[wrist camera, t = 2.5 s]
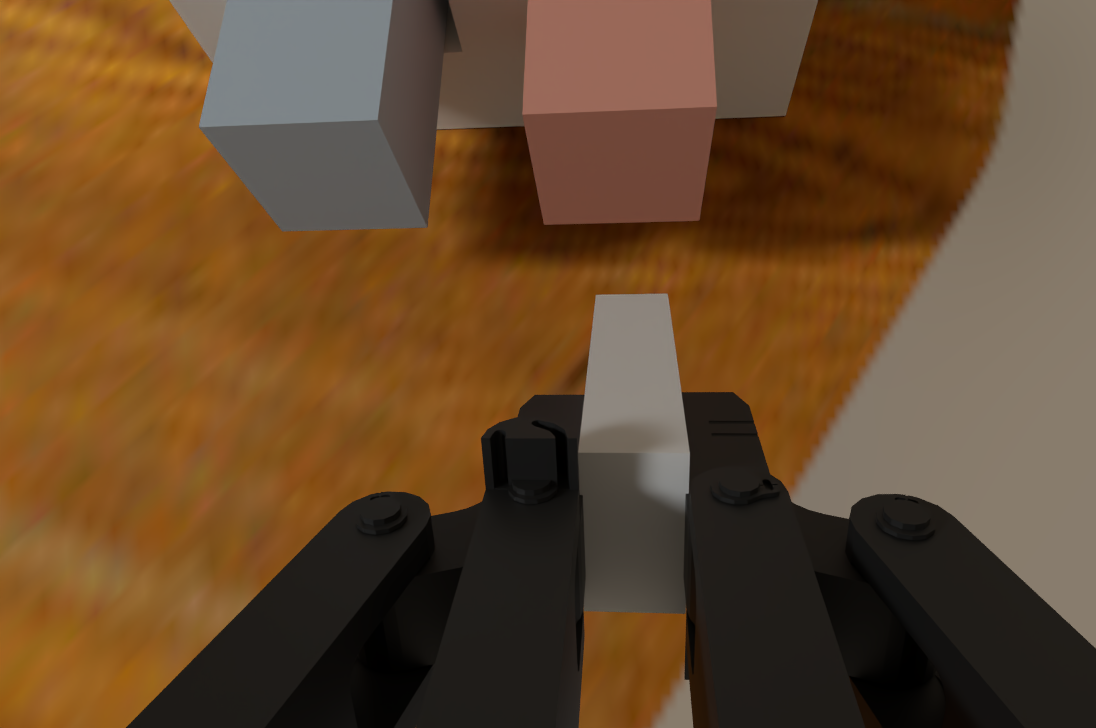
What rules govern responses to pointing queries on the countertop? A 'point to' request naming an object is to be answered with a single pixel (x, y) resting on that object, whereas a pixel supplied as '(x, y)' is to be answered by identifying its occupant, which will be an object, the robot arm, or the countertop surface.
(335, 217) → the slate key
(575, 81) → the brick key
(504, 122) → the plain grey box
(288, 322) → the countertop surface
